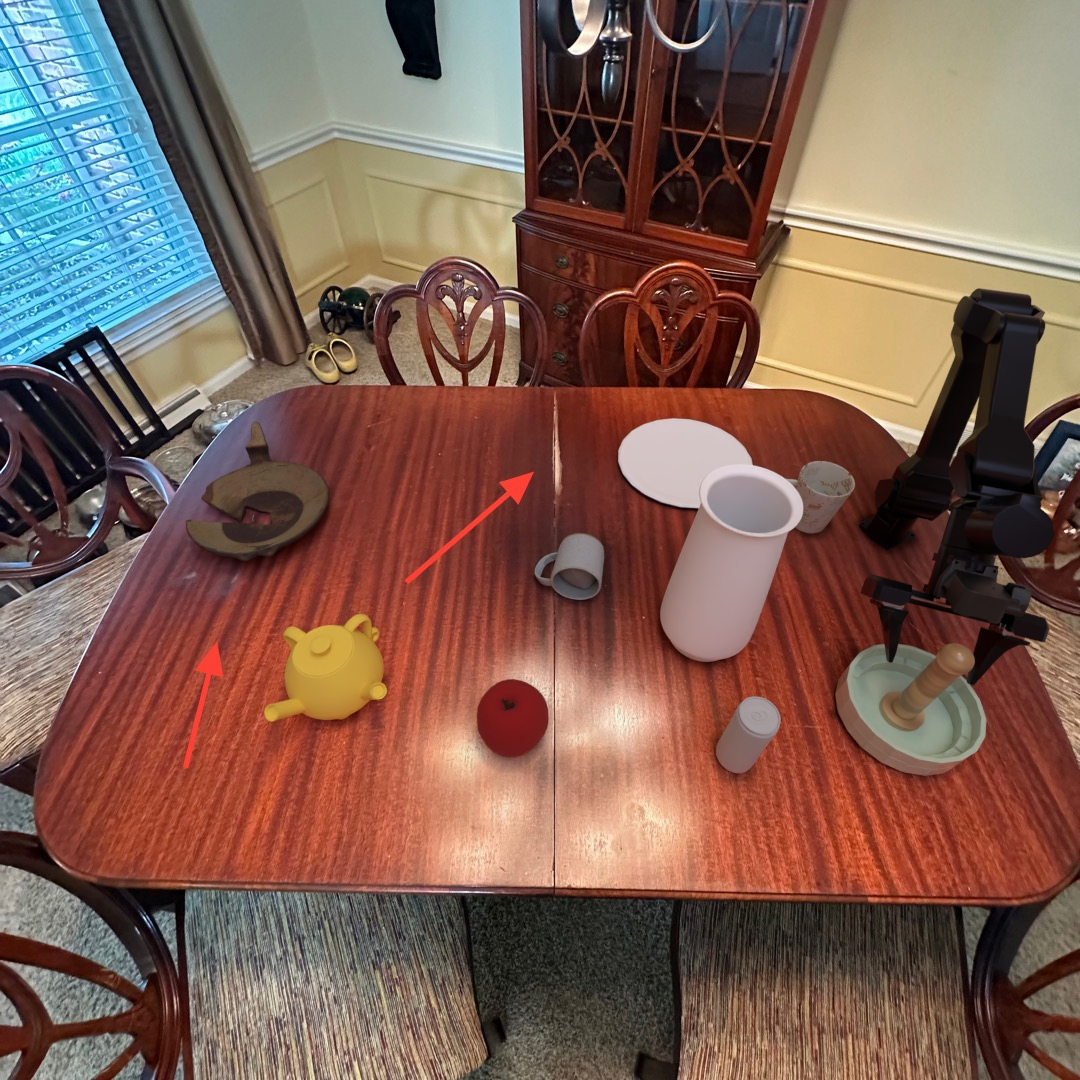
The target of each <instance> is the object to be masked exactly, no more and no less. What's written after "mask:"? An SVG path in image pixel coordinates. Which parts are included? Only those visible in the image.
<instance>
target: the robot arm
mask: <svg viewBox="0 0 1080 1080" xmlns="http://www.w3.org/2000/svg"><path fill="white" fill-rule="evenodd" d="M1045 314H1046V312H1045V311H1044V310H1043V309H1041V308H1040V307H1038V306H1037V305H1036V304H1032V296H1031V295H1029V294H1025V293H1019V292H1011V291H1004V290H995V289H989V288H988V289H987V288H980V287H978V288H975V289H974V290H973V291H972V292H971V294H970V295H963V296H962V297H961V298H960V300H959V301H958V303H957V305H956V307H955V309H954V312H953V315H952V316H953V317H952V321H953V326H952V328H951V330H950V331H951V332H950V339H951V343H952V347H953V351H954V358H953V361H952V363H951V365H950V367H949V370H948V373H947V374H946V378H945V379H944V382H943V385H942V387H941V390H940V391H939V395H938V397H937V400H936V401H935V404H934V407H933V408H932V412H931V413H930V416H929V418H928V421H927V424H926V426H925V429H924V431H923V433H922V435H921V438H920V441H919V443H918V446H917V448H916V450H915V452H914V453H913V454H912V455H911V456H909V457H908V458H906V460H904V461H902V462H901V463H900V464H899V465H897V467H896V469H895V470H894V473H893V475H892V476H891V478H884V479H879V480H878V482H877V485H876V487H875V489H874V500H875V501H874V502H875V510H876V512H875V513H874V515H873V516H871V517H869V518H866V519H864V520H861V521H859V523H858V526H859V527H860V529H862V530H863V531H864V532H865V533H866V534H867V535H868V536H870V537H871V538H872V539H873V540H874V541H876V543H878V544H879V545H880V546H881V547H882V548H883V549H884V550H886V551H890V550H892V549H895V548H896V547H899V546H901V545H903V544H905V543H908V542H910V541H912V540H914V539H915V538H916V534H915V533H914V532H912V531H911V530H912V528H913V526H914V525H915V524H916V522H917V521H918V519H923V520H927V521H929V522H934V520H936V519H937V518H938V517H940V516H941V515H942V514H944V513H945V512H946V511H948V512H949V516H948V519H947V522H946V526H945V529H944V532H943V535H942V538H941V541H940V545H939V548H938V551H937V552H933V555H932V557H931V561H933V562H934V564H933V567H932V570H931V573H930V577H929V580H928V583H924V584H923V587H922V591H920V590H916V589H913V585H912V584H910V583H907V582H904V581H901V580H896V579H892V578H888V577H884V576H881V575H876V574H873V573H872V574H870V575H868V576H867V577H866V578H865V579H864V581H863V583H862V586H861V589H860V594H861V595H864V596H866V597H867V598H870V599H869V604H871V605H873V606H876V609H877V612H878V616H879V619H880V623H881V628H882V636H883V644H885V652H886V660H887V661H888V662H889V663H892V662H893V660H894V658H895V655H896V652H897V648H898V644H900V638H901V634H902V629H903V625H904V622H905V621H906V619H907V617H908V616H909V614H910V611H909V610H907V609H905V605H907V604H911V605H915V606H919V607H923V608H927V609H931V610H933V611H934V610H935V611H938V612H943V613H945V614H950V615H955V616H957V617H958V616H959V617H961V618H967V619H970V620H974V621H977V622H982V623H987V624H988V627H983V626H980V630H979V632H978V635H977V639H976V642H975V646H974V649H973V652H972V653H973V655H974V658H975V663H974V666H973V668H972V670H971V671H969V672H968V673H967V677H966V680H967V683H968V684H970V685H971V686H975V685H976V684H977V683H978V682H979V681H980V679H981V678H982V677H983V676H984V675H985V674H986V672H987V671H989V670H990V668H992V666H993V665H994V664H995V663H996V662H997V661H998V659H1000V658H1001V657H1002V656H1003V655H1004V654H1005V653H1006V652H1009V650H1012V649H1014V648H1016V647H1018V646H1025V647H1028V646H1029V645H1031V643H1032V642H1031V641H1029V640H1033V641H1036V642H1040V643H1046V640H1047V638H1048V635H1049V631H1050V626H1049V623H1048V620H1047V619H1046V617H1043V616H1039V615H1036V614H1033V613H1029V612H1027V610H1028V608H1029V606H1030V602H1031V598H1032V595H1033V590H1032V589H1031V588H1030V587H1029V586H1028V585H1024V584H1020V583H1016V582H1012V581H1009V582H1008V583H1006V584H1002V583H999V582H998V575H999V568H1000V567H999V566H1000V565H999V566H998V565H995V562H996V559H997V557H998V556H1000V557H1008V558H1013V559H1014V558H1015V559H1030V558H1034V557H1036V556H1038V555H1041V554H1042V553H1043V552H1045V551H1046V550H1047V549H1048V548H1049V547H1050V545H1051V544H1052V542H1053V540H1054V538H1055V537H1054V536H1055V531H1054V523H1053V522H1052V519H1051V517H1050V516H1049V515H1048V513H1047V512H1046V511H1044V510H1043V509H1042V501H1043V500H1044V495H1043V494H1042V491H1041V489H1040V486H1039V481H1038V476H1037V471H1036V467H1035V456H1036V455H1035V454H1036V452H1035V451H1036V447H1035V443H1034V442H1033V440H1032V438H1031V437H1030V436H1029V434H1028V432H1027V431H1026V429H1025V428H1026V427H1025V425H1026V416H1027V410H1028V403H1029V398H1030V391H1031V384H1032V377H1033V373H1034V372H1033V371H1034V365H1035V359H1036V353H1037V346H1038V344H1039V343H1040V341H1041V340H1042V338H1043V335H1044V333H1045V330H1046V321H1045V320H1044V319H1043V318H1044V316H1045ZM976 405H977V409H976V413H975V419H974V425H973V428H972V432H971V434H970V435H969V436H968V437H967V438H966V439H965V440H964V441H963V442H962V443H961V444H960V442H961V439H962V437H963V434H964V433H965V430H966V427H967V425H968V423H969V422H970V421H969V420H970V419H971V416H972V414H973V412H974V409H975V407H976ZM959 444H960V445H959ZM955 452H956V455H955ZM954 455H955V456H954ZM953 491H954V492H955V495H956V497H957V498H958V499H956V500H955V501H952V494H953ZM935 599H937V600H936V601H935ZM941 599H944V600H945V602H943V601H940V600H941ZM938 600H939V601H938ZM1025 639H1028V640H1025Z"/></svg>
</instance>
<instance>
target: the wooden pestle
mask: <svg viewBox="0 0 1080 1080" xmlns="http://www.w3.org/2000/svg"><path fill="white" fill-rule="evenodd" d="M974 663H975V658H974V655H973V652H972V651H971V649H970V648H969V647H967V646H965V645H963V644H961V643H956V642H955V643H954V642H951V643H947V644H944V645H943V646H941V647H940V648H939V649H938V650H937V653H936V658H935V659H934V660H933V661H932V662H931V663H930V664H929V665H928V666H927V667H926V668H925V669H924V670H923V671H922V672H921V673H920V674H919V675H918V676H917V677H916V678H915V679H914V680H913V681H912V682H911V683H910V684H909V685H908V686H907V688H906V689H905V690H904V691H903V692H890V693H888V694H886V695H885V696H884V697H883V699H882V700H881V702H880V712H881V714H882V716H883V718H884V719H885V720H886V721H887V722H888V723H889V724H890V725H891V726H893V727H894V728H896V729H898V730H901V731H906V732H911V731H915V730H917V729H918V728H919V727H920V726H922V724H923V723H924V721H925V713H924V709H925V708H926V707H927V706H928V705H929V704H930V703H931V702H933V701H934V700H935V699H936V698H937V697H938V696H939V695H940V694H941V693H942V692H943V691H944V690H945V689H947V688H948V687H949V686H950V685H951V684H952V683H953V682H954V681H955V680H956V679H957V678H958V677H960V676H964V675H966V674H968V672H969V671H971V670H972V668H973V666H974Z"/></svg>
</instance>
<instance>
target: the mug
mask: <svg viewBox="0 0 1080 1080" xmlns="http://www.w3.org/2000/svg"><path fill="white" fill-rule="evenodd" d="M785 479H786V480H787V481H789V482H790V483H791V484H792V485H793V486H794V487H795V489H796V490H797V491H798V493H799V495H800V497H801V499H802V502H803V515H802V518H801V520H800V522H799V523H798V524H797V525H796V526H795V527H794V528H795V529H796V530H798V531H800V532H802V533H806V534H818V533H821V532H822V531H823V530H825V528H826V527H827V526H828V524H829V523H830V522H831V521H832V519H833V518H834V517H835V515H836V514H837V513H838V511H839V510H840V509H841V507H843V505H844V504H845V502H846V501H847V500H848V499H849V497H850V496H851V495H852V493H853V492H854V490H855V487H856V482H855V479H854V476H853V475H852V474H851V473H850V471H848V470H847V469H846V468H844V467H842V466H841V465H839V464H838V463H837V464H836V463H834V462H830V461H826V460H824V461H823V460H816V461H811V462H808V463H806V464H804V465H803V466H802V468H801V469H800V471H799V474H798V478H797V479H794V478H793V479H792V478H785Z"/></svg>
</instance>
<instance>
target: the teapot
mask: <svg viewBox="0 0 1080 1080" xmlns="http://www.w3.org/2000/svg"><path fill="white" fill-rule="evenodd" d="M361 624H362V631H360V630H358V629H357V627H358V626H360V625H361ZM372 625H373V624H372V620H371V618H370V617H369V616H368V615H366V614H365V613H358V614H355V615H353V616H352V617H350V618H349V619H348V620H347V621H346V623H345V624H344V625H337V624H328V625H327V624H326V625H322V626H319V627H315V628H313V629H311V630H310V631H308V632H307V633H306V632H305V631H304V630H302V629H300V628H298V627H296V626H289V627H287V628H286V629H285V630H284V631H283V633H282V637H283V638H282V639H284V641H285V643H286V644H287V645H288V646H289V647H288V649H289V651H290V654H289V656H288V658H287V661H286V664H285V668H284V686H285V687H284V688H285V691H286V694H287V696H288V699H285V700H281V701H277V702H273V703H269V704H267V705H266V706H265V709H264V711H263V712H264V717H265V720H266V721H268V722H276V721H278V720H283V719H287V718H290V717H293V716H297V715H301V714H303V715H304V716H306V717H309V718H312V719H316V720H320V721H332V720H345V719H347V718H348V717H349V716H350V715H352V714H354V713H357V711H359V710H361V709H362V708H363V707H364V706H366V705H367V704H368V703H369V702H370V701H374V700H382V699H384V697H385V696H387V692H388V689H387V685H385V684H384V683H383V682H382V681H383V678H384V674H385V662H384V658H383V655H382V653H381V651H380V649H379V647H378V646H377V644H376V642H377V641H378V639H379V638H380V635H381V633H380V630H379V629H378V628H377V627H375V626H372Z"/></svg>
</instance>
